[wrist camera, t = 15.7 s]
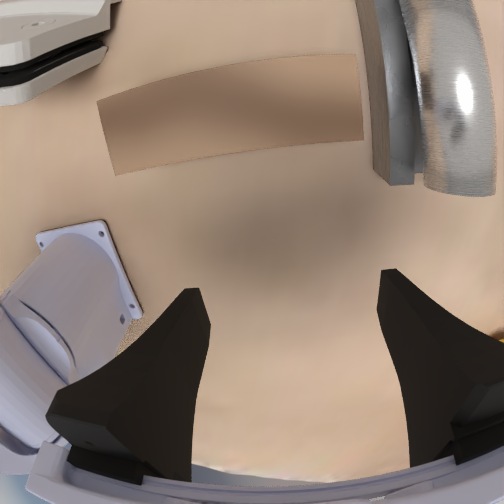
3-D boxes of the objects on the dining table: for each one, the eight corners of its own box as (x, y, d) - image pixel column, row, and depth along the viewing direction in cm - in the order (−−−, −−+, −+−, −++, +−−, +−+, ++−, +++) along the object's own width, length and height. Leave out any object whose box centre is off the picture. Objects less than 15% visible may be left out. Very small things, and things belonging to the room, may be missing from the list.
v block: (450, 166, 17) (474, 182, 15) (373, 169, 18) (390, 185, 15) (438, -1, 11) (462, -9, 9) (352, -12, 12) (367, -27, 9)
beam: (340, 124, 17) (364, 140, 13) (150, 151, 18) (115, 175, 14) (333, 61, 15) (355, 54, 11) (137, 93, 16) (96, 101, 12)
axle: (473, 179, 14) (510, 196, 10) (413, 178, 15) (440, 196, 11) (453, 12, 10) (484, -9, 6) (389, 3, 11) (409, -25, 7)
